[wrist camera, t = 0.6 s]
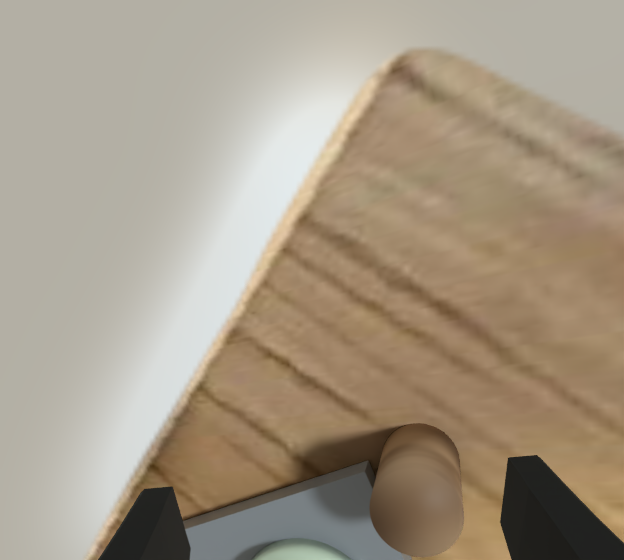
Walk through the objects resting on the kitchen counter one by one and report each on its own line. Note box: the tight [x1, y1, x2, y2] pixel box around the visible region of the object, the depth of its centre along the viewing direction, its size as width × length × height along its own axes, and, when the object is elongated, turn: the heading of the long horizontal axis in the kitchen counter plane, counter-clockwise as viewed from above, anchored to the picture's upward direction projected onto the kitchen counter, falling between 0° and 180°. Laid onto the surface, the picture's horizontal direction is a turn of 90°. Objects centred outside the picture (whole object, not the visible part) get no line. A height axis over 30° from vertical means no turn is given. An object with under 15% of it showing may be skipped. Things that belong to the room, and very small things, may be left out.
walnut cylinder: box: [369, 423, 464, 557], centre depth 29 cm, size 5×5×6 cm
